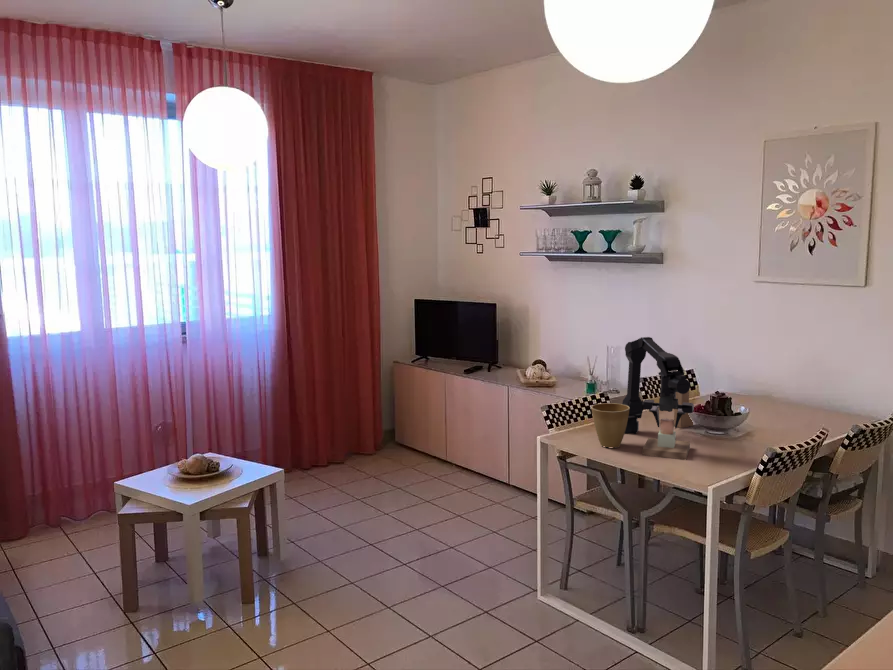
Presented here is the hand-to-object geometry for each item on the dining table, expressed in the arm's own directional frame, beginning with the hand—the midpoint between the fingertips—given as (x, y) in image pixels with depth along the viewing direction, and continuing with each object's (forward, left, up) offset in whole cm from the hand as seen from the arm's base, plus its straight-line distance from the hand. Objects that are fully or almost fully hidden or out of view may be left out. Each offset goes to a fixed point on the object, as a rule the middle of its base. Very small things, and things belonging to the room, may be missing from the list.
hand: (667, 427), depth 282 cm
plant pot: (-22, 0, -10) cm, 24 cm away
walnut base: (0, 0, -10) cm, 10 cm away
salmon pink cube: (0, 0, -2) cm, 2 cm away
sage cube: (0, 0, -7) cm, 7 cm away
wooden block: (+3, +41, -10) cm, 42 cm away
